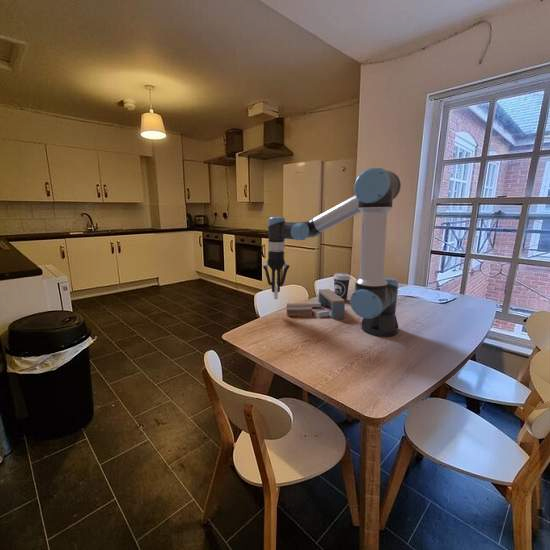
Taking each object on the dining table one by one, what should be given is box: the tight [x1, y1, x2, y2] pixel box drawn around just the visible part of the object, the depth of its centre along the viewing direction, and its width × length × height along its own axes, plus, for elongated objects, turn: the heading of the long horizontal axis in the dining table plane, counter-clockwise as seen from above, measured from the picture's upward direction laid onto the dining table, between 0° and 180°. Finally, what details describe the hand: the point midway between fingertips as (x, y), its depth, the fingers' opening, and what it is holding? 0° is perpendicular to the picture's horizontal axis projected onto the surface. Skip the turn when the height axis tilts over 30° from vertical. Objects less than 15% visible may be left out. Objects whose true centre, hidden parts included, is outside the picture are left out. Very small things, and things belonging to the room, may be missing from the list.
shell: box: [286, 302, 313, 316], centre depth 146 cm, size 9×12×4 cm
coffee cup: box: [333, 272, 352, 302], centre depth 165 cm, size 10×10×15 cm
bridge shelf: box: [309, 288, 346, 319], centre depth 148 cm, size 20×12×9 cm, turn 11°
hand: (275, 298), depth 143 cm, fingers closed
